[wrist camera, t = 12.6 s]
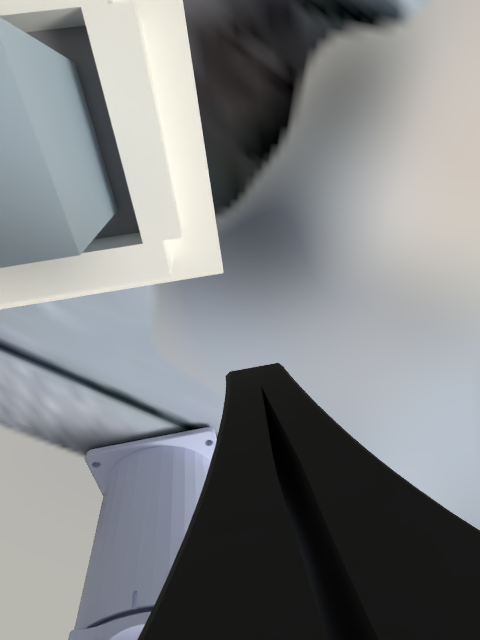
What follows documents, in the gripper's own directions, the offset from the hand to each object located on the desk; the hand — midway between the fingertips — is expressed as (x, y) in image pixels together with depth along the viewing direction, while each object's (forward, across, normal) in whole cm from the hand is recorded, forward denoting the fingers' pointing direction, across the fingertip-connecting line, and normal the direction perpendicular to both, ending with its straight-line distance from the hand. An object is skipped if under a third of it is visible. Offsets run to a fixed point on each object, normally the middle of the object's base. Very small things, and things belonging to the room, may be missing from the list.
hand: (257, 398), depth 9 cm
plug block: (+9, +6, -6) cm, 12 cm away
